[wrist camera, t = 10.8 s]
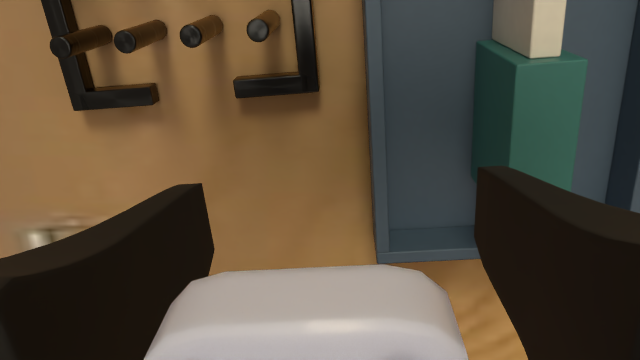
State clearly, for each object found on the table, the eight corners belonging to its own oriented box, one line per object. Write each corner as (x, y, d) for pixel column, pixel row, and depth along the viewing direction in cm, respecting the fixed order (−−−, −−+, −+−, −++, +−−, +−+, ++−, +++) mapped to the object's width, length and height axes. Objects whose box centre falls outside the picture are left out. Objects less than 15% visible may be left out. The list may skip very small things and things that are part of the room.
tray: (608, 223, 23) (636, 251, 21) (373, 236, 24) (377, 264, 22) (711, -385, 15) (778, -448, 13) (345, -334, 16) (346, -384, 13)
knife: (520, 173, 22) (566, 228, 18) (470, 176, 22) (503, 231, 18) (555, -247, 16) (641, -330, 11) (487, -239, 16) (545, -317, 12)
